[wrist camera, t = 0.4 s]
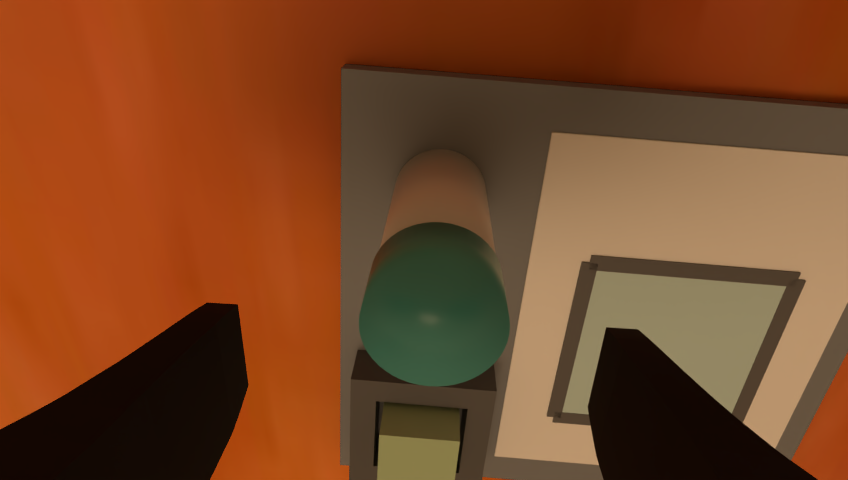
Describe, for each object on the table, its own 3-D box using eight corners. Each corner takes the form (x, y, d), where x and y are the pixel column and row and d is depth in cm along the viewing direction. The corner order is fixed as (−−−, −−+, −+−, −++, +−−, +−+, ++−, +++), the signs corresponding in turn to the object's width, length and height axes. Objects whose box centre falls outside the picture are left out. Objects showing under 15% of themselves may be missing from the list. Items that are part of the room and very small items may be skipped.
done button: (459, 403, 23) (459, 441, 21) (452, 456, 24) (452, 496, 22) (384, 396, 23) (379, 434, 21) (382, 450, 24) (376, 490, 22)
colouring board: (949, 112, 19) (1020, 135, 16) (761, 486, 27) (790, 537, 24) (345, 63, 19) (330, 79, 16) (343, 451, 27) (333, 497, 25)
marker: (494, 150, 19) (520, 269, 12) (482, 240, 21) (499, 392, 13) (394, 142, 19) (360, 256, 12) (390, 232, 21) (357, 380, 13)
